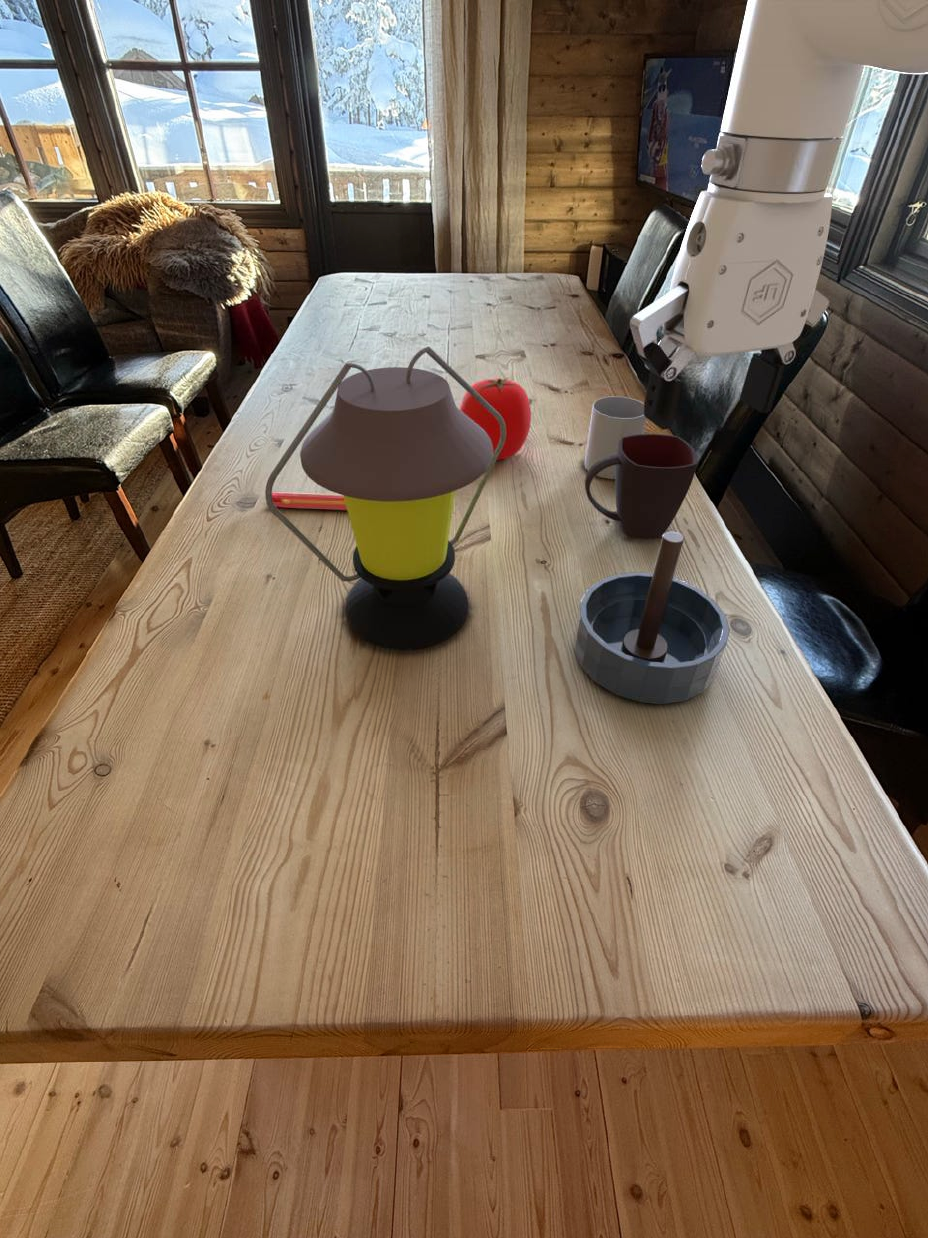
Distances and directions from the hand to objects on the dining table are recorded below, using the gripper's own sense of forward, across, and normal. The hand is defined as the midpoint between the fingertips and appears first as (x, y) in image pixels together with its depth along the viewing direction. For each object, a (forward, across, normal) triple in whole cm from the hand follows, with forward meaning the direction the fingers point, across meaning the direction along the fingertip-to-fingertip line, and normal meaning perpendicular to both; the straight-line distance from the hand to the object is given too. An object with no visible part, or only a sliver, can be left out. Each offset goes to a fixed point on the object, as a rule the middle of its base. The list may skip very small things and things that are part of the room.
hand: (706, 414), depth 55 cm
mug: (+28, +12, +23) cm, 39 cm away
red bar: (+28, -23, +42) cm, 56 cm away
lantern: (+28, -23, +17) cm, 40 cm away
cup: (+28, +19, +40) cm, 53 cm away
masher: (+28, 0, 0) cm, 28 cm away
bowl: (+28, 0, 0) cm, 28 cm away
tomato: (+28, +3, +51) cm, 58 cm away
